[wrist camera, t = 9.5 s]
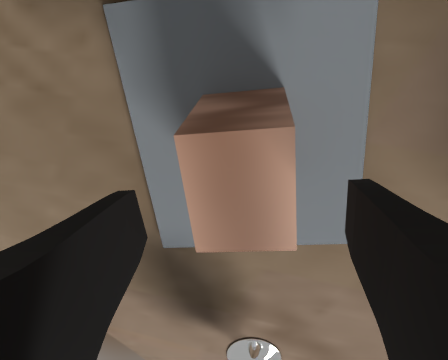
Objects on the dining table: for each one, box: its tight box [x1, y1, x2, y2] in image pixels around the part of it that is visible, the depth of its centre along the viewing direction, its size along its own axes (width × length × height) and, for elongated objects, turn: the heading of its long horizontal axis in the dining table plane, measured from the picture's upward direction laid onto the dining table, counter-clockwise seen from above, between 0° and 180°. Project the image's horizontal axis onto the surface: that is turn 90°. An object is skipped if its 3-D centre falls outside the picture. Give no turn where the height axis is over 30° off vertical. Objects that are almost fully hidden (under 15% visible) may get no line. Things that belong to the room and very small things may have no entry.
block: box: [174, 87, 297, 252], centre depth 14 cm, size 4×5×6 cm
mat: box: [103, 0, 378, 248], centre depth 17 cm, size 12×14×1 cm
